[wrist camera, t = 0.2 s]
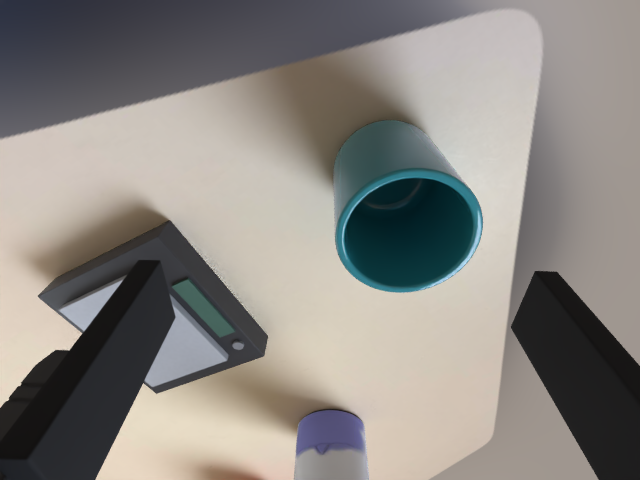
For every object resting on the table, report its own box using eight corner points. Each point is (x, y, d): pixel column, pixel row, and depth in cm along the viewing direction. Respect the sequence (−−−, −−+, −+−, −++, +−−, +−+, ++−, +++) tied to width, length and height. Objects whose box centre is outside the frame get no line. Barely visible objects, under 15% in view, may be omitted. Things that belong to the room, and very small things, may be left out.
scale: (55, 278, 39) (31, 301, 36) (170, 220, 35) (154, 241, 32) (165, 373, 48) (153, 399, 44) (268, 336, 43) (263, 362, 40)
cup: (407, 247, 36) (436, 331, 27) (312, 177, 32) (306, 247, 23) (480, 181, 32) (544, 253, 23) (381, 93, 28) (408, 135, 19)
